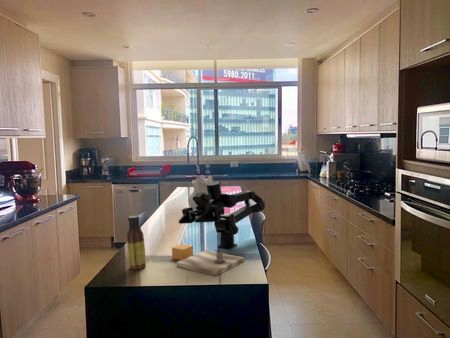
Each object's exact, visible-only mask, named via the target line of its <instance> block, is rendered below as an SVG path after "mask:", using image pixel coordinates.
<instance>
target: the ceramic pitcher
mask: <svg viewBox="0 0 450 338" xmlns="http://www.w3.org/2000/svg"><path fill="white" fill-rule="evenodd" d="M211 182H214V180H213V176H212V175H208V176H207V178H206V177H205V176H201V175H200V176H198V177H196V178H195V180H194V179H192V181H191V183H192V186H193V191H192V192H191V193H190V194H189V196H188V198H187V202H188V206H189V208H190V207H191V208H192V209H193V211H194V210H197V209H196V206H197V205H196V203H195V201H194V200H193V199H192V198H193V197H194V195H195V194H196V193H199V192H204V193H206V194H208V193H207V187H206V184H207V183H211ZM210 201H212V199H211V200H210Z"/></svg>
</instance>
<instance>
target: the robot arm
mask: <svg viewBox="0 0 450 338" xmlns="http://www.w3.org/2000/svg"><path fill="white" fill-rule="evenodd" d="M206 187H207V193H208V194H206V193H204V192H199V193H196V194H195V195H194V197H193V198H192V199H193V200H194V201H195V203H196V205H197V206H196V209H197V210H193V209H192V208H191V207H190V206H189V207H185V208H183V209H181V212H182V216H181V218H179V220H178V224H192V223H214V227H215V228H214V229H215V231H216V233H219V236H220V237H219V245H217V247H218V248H222V249H228V250H230V249H232V248H235V247H236V246H238V243H235V235H237V234H238V232H239V227H238V226H237V225H236V224H237V223H239V222H241V221H242V220H243V219H245V218H246V217H249V216H250V215H251V214H255V213H256V214H257V213H261V212H263V211H264V209H265V207H266V204H265V201H264V200H263V199H262V197H260V196H259V195H257V194H256V192H255V191H253V190H244V191H240V192H236V193H232V194H227V193H223V192H222V186H221V181H219V180H218V181H217V180H216V181H213V182H211V183H207V184H206ZM211 199H212V201H210V200H211ZM241 202H244V204H245V205H244V206H242V207H241V208H239V209H237V210H235V211H233V212H231V213H228V212H227V213H226V212H225V208H228V209H232V208H233V207H235V206H236V205H237V204H238V203H241Z"/></svg>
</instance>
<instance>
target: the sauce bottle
mask: <svg viewBox="0 0 450 338" xmlns="http://www.w3.org/2000/svg"><path fill="white" fill-rule="evenodd" d="M127 221H128V226H129V227H128V231H127V232H126V233H127V234H126V238H127V243H126V244H127V251H128V253H127V254H128V263H129V264H128V265H129V267H130V269H131V270H136V271H137V270H141V269H144V268H145V267H147V263H146V261H147V260H146V259H147V258H146V257H147V256H146V247H145V238H144V232H143V230H142V229H141V227H140V216H139V215H130V216H128V217H127Z"/></svg>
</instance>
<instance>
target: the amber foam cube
mask: <svg viewBox="0 0 450 338" xmlns="http://www.w3.org/2000/svg"><path fill="white" fill-rule="evenodd" d="M193 247H194V246H193V245H190V244H183V243H181V244H178V245H175V246H172V247H171V257H172V259H174V260H178V261H181V260H183V259H186V258H188V257H190V256H193V255H194V248H193Z"/></svg>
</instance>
